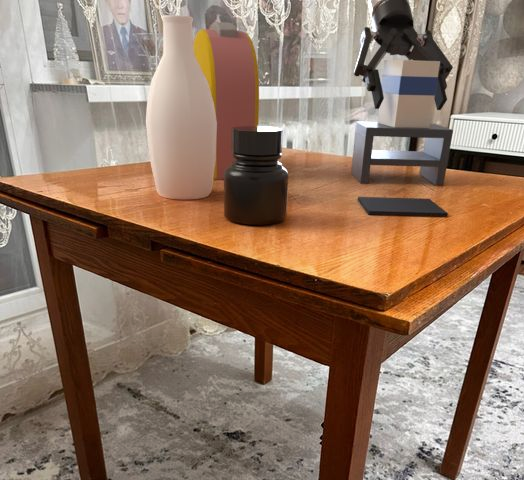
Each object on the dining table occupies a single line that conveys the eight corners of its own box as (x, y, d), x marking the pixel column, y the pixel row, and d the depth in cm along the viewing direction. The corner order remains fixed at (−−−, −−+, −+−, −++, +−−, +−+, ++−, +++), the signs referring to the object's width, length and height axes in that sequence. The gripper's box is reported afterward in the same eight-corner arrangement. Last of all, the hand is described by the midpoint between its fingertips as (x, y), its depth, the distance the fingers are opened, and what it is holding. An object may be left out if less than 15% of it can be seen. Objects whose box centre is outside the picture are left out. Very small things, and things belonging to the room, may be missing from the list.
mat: (428, 202, 90) (429, 198, 90) (447, 217, 82) (448, 213, 81) (357, 200, 90) (357, 196, 90) (368, 214, 81) (368, 210, 81)
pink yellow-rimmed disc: (258, 178, 105) (262, 20, 93) (212, 179, 103) (210, 17, 90) (231, 161, 123) (232, 26, 111) (192, 161, 120) (187, 24, 108)
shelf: (426, 174, 114) (434, 123, 110) (443, 185, 104) (453, 129, 99) (351, 172, 114) (356, 121, 109) (360, 183, 103) (366, 127, 99)
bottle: (139, 198, 87) (124, 12, 75) (165, 185, 96) (156, 19, 85) (205, 203, 85) (201, 13, 73) (225, 190, 94) (224, 20, 82)
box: (410, 123, 109) (419, 61, 104) (430, 128, 101) (440, 61, 96) (376, 122, 108) (384, 60, 103) (394, 127, 100) (403, 60, 95)
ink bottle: (300, 218, 78) (306, 129, 72) (263, 230, 72) (266, 134, 66) (248, 207, 83) (249, 123, 78) (209, 218, 77) (207, 127, 71)
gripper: (438, 32, 112) (460, 119, 106) (327, 27, 108) (343, 117, 102) (456, -1, 105) (480, 90, 99) (337, -8, 101) (355, 87, 95)
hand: (411, 104), depth 100 cm, fingers open, 12 cm apart
